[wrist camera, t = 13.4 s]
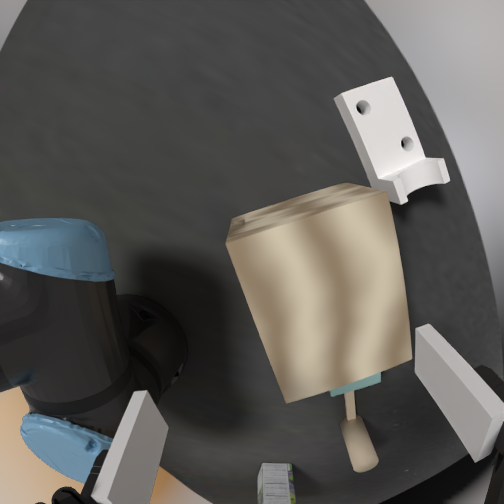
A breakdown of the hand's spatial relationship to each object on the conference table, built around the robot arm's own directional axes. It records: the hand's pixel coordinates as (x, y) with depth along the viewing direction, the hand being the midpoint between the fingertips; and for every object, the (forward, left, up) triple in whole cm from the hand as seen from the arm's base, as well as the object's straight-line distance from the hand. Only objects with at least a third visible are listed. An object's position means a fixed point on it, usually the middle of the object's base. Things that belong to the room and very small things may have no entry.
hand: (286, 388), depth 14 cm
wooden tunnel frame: (+5, -5, -26) cm, 27 cm away
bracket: (+18, +8, -26) cm, 33 cm away
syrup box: (-11, -43, -26) cm, 51 cm away
